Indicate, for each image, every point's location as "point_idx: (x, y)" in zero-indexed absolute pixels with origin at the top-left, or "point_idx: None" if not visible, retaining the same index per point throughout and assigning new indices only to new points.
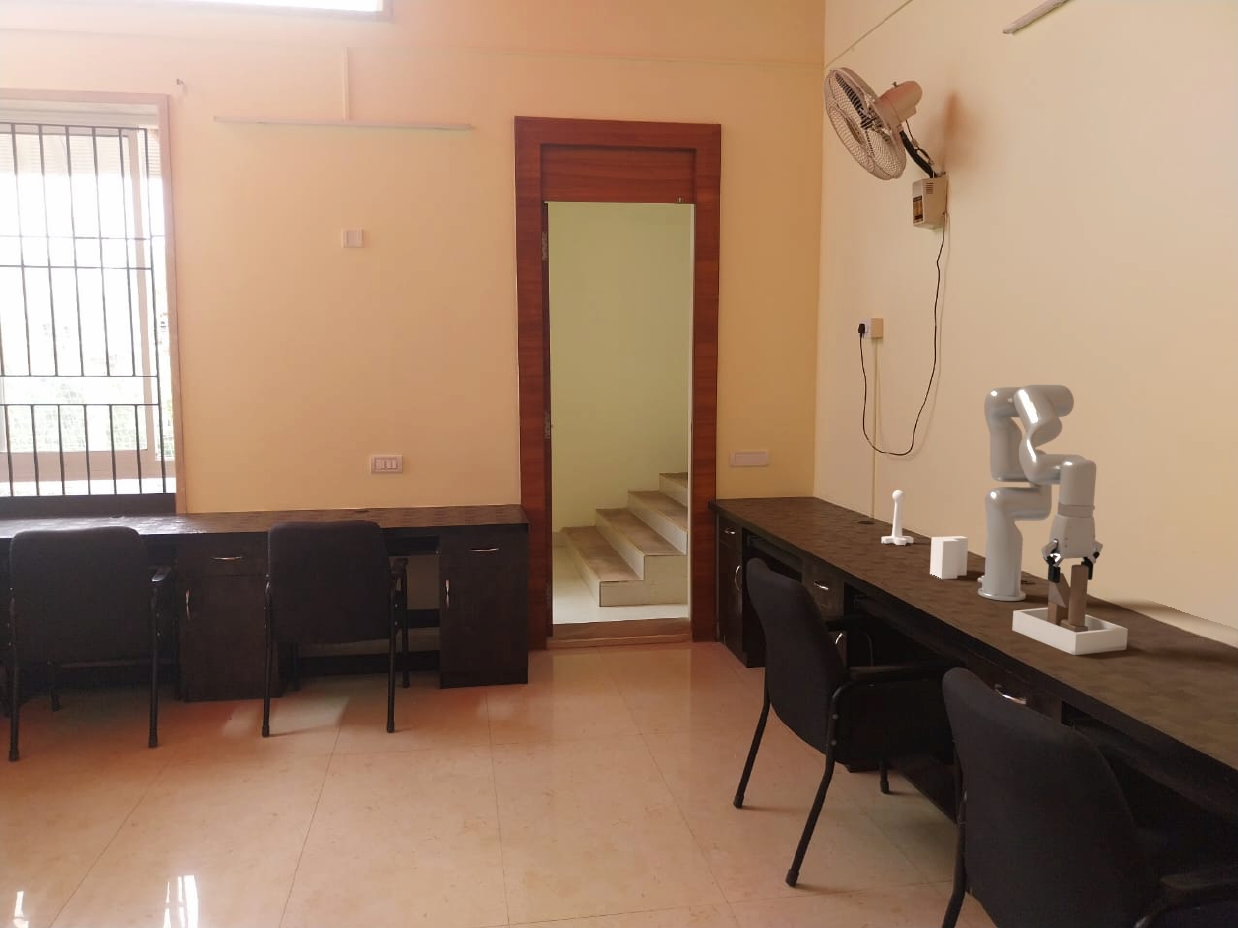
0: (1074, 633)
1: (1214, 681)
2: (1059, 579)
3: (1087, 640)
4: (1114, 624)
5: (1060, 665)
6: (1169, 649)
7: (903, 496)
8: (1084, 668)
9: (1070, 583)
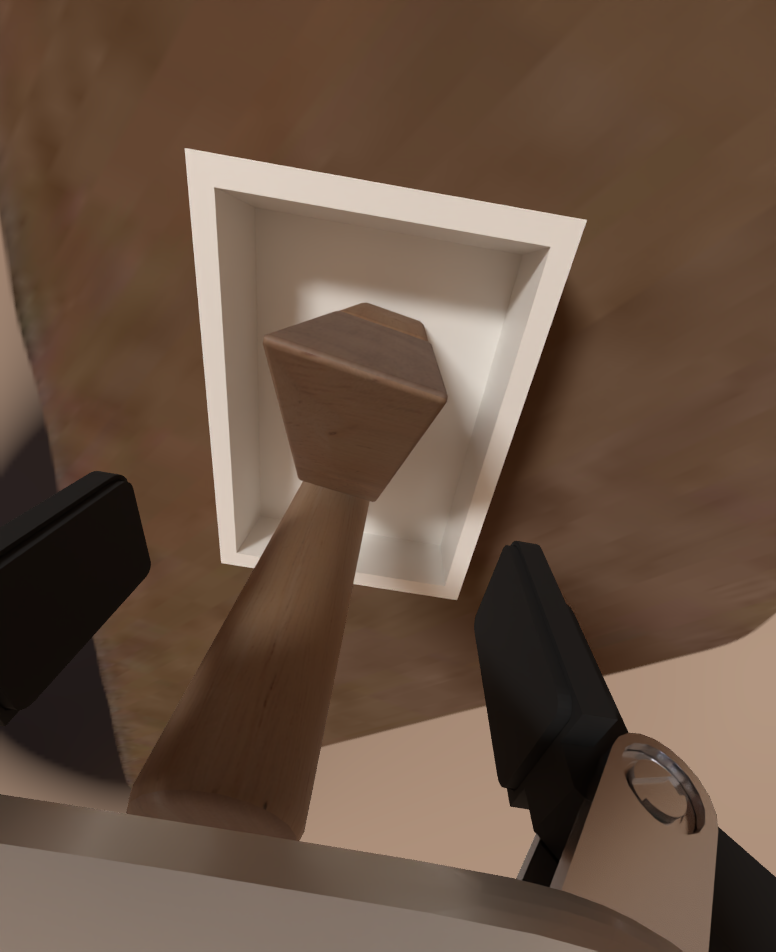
0: (222, 556)
1: (405, 711)
2: (122, 595)
3: None
4: (468, 556)
5: (151, 546)
6: (562, 595)
7: None
8: (199, 581)
9: (240, 603)
